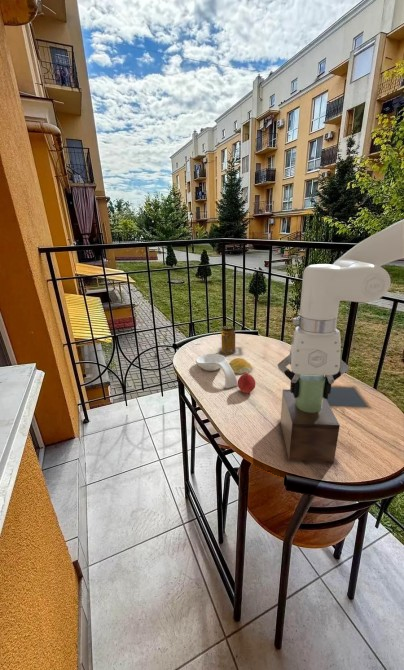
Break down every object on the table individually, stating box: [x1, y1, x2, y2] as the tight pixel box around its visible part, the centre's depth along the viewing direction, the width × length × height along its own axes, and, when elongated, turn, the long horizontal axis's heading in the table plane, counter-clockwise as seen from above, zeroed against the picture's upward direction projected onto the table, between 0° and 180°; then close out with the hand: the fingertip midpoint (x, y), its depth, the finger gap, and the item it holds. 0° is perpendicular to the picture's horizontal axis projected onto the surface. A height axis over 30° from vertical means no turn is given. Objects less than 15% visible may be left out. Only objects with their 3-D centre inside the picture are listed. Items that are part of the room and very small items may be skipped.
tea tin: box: [295, 375, 325, 413], centre depth 66 cm, size 6×6×8 cm
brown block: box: [279, 389, 341, 464], centre depth 69 cm, size 10×14×11 cm
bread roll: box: [228, 357, 252, 375], centre depth 109 cm, size 8×9×4 cm
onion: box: [237, 372, 256, 394], centre depth 92 cm, size 6×6×8 cm
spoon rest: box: [195, 353, 238, 389], centre depth 106 cm, size 24×12×7 cm, turn 24°
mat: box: [326, 386, 368, 408], centre depth 89 cm, size 11×11×1 cm
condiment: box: [221, 325, 236, 355], centre depth 123 cm, size 7×8×12 cm
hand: (309, 394), depth 67 cm, fingers closed on tea tin, 6 cm apart
